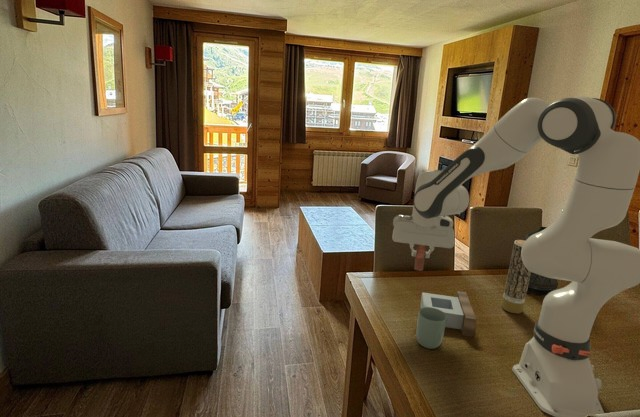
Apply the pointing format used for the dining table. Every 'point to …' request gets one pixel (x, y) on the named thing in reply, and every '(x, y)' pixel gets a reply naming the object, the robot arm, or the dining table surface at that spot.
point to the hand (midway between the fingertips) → (420, 256)
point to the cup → (430, 327)
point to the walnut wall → (466, 314)
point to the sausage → (420, 257)
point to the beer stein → (540, 278)
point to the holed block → (445, 308)
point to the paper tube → (516, 281)
